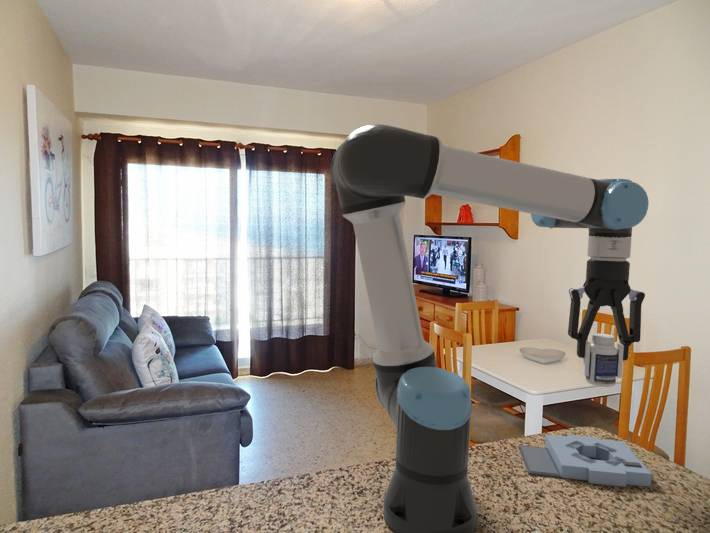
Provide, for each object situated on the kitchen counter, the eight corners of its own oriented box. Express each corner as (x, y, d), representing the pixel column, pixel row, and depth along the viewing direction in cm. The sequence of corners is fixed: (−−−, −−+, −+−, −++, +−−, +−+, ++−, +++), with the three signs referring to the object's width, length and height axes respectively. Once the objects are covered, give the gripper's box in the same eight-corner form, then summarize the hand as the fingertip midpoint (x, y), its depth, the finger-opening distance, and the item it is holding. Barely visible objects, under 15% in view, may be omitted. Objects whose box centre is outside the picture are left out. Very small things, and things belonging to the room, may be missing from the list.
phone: (560, 480, 94) (561, 475, 94) (528, 477, 95) (528, 471, 95) (546, 452, 106) (547, 447, 106) (518, 449, 107) (518, 444, 107)
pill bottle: (621, 385, 97) (624, 336, 96) (604, 389, 94) (608, 339, 94) (596, 377, 102) (599, 331, 101) (579, 381, 99) (582, 333, 98)
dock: (562, 480, 93) (563, 466, 93) (544, 443, 109) (544, 431, 109) (653, 489, 91) (654, 475, 90) (621, 450, 106) (621, 438, 106)
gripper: (563, 258, 94) (556, 376, 96) (668, 262, 91) (659, 383, 93) (554, 256, 101) (548, 366, 103) (650, 259, 98) (642, 372, 100)
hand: (600, 374), depth 98 cm, fingers closed on pill bottle, 5 cm apart
